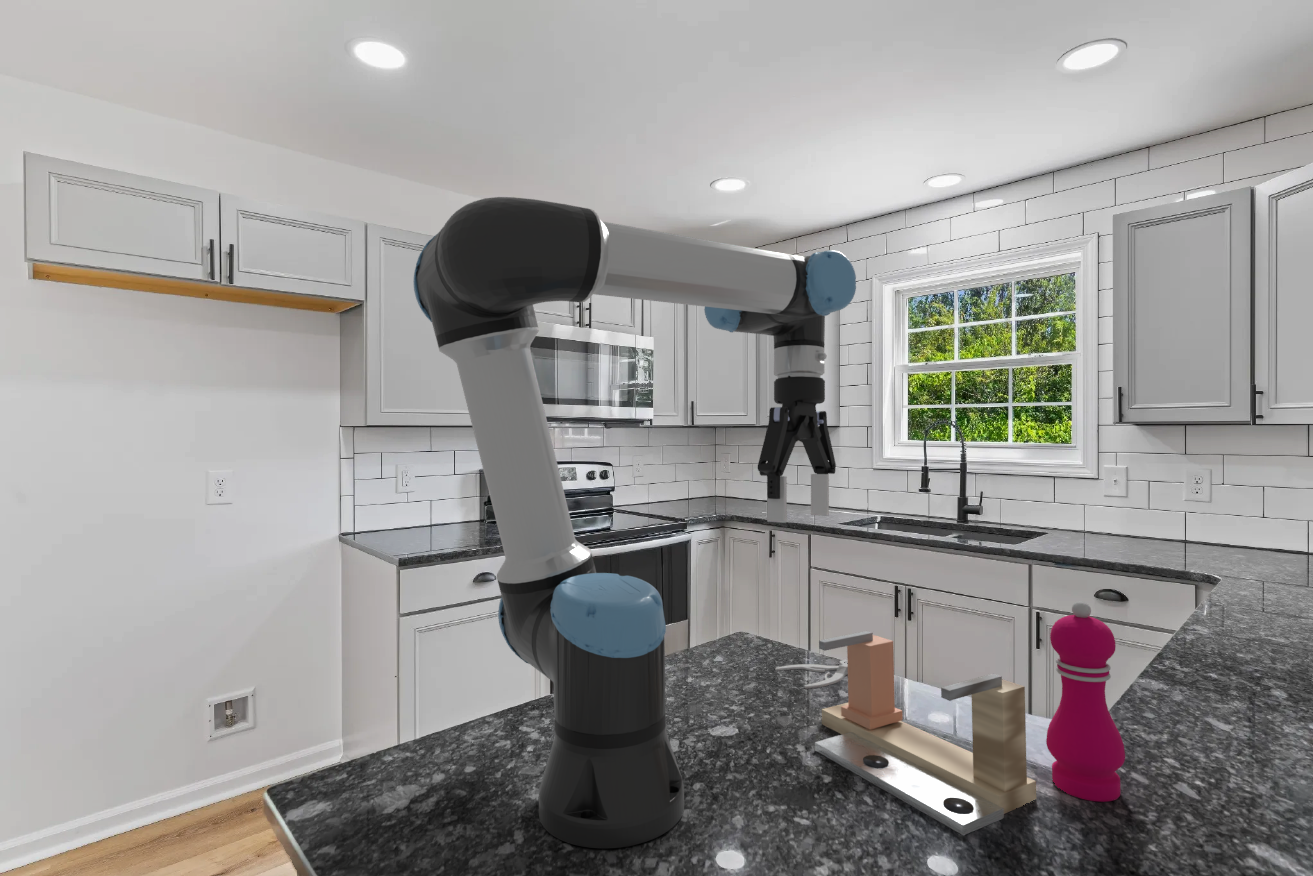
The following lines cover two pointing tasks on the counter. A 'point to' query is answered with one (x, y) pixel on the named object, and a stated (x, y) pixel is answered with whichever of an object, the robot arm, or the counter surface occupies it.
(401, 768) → the counter surface
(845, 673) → the pliers
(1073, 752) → the pepper mill
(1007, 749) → the rail
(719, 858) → the counter surface
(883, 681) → the slide leg
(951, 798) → the hole plate
